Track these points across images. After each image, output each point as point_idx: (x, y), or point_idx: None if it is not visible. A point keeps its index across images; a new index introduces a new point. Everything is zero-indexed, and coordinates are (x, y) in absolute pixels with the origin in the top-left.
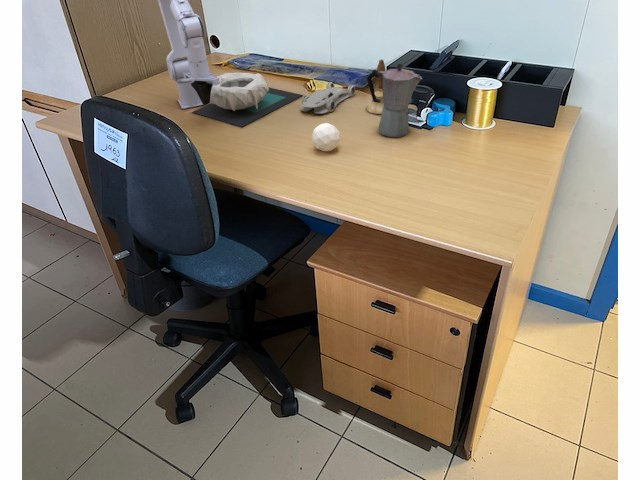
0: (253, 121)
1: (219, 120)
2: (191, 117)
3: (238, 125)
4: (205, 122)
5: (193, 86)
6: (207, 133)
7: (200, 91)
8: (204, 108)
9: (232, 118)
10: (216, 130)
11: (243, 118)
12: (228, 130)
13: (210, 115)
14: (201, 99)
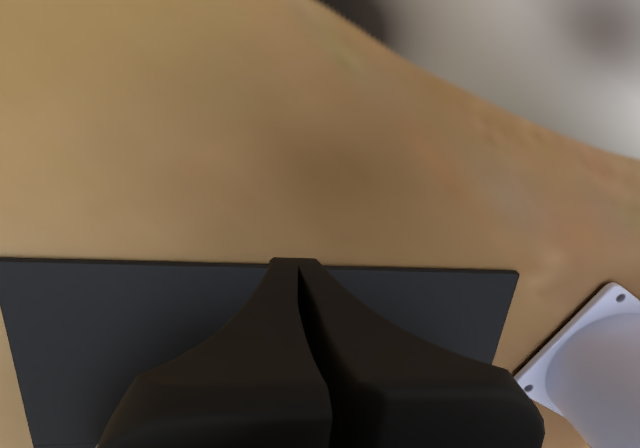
0: (17, 359)
1: (244, 265)
2: (479, 218)
3: (29, 262)
4: (325, 202)
5: (436, 367)
6: (148, 48)
7: (264, 335)
8: (472, 344)
9: (176, 323)
10: (130, 130)
11: (106, 355)
12: (43, 174)
13: (360, 290)
14: (310, 277)
